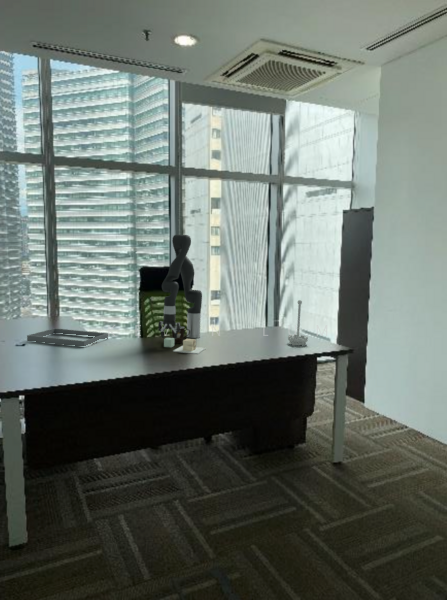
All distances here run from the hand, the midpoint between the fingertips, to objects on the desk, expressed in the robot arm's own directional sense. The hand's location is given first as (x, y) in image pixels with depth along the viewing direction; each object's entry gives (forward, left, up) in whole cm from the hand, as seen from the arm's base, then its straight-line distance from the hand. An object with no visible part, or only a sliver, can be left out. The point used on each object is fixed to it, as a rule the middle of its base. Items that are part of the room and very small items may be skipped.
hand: (169, 338), depth 283 cm
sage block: (0, 0, -5) cm, 5 cm away
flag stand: (-41, +76, -6) cm, 87 cm away
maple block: (+6, +16, -5) cm, 18 cm away
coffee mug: (-13, +2, -5) cm, 15 cm away
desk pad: (+5, +16, -5) cm, 17 cm away
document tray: (+12, -66, -5) cm, 67 cm away
